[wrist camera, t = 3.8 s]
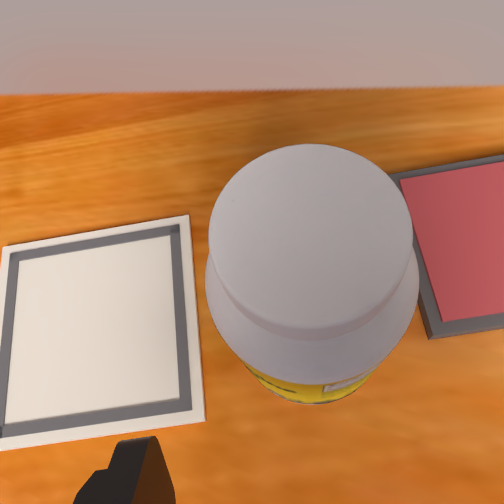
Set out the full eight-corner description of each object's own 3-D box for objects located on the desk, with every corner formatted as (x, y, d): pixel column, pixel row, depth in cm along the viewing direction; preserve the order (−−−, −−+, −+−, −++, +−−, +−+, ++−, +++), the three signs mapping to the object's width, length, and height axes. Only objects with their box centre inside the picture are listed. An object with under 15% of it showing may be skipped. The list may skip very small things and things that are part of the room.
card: (189, 217, 23) (188, 213, 23) (206, 421, 19) (204, 420, 19) (6, 249, 24) (1, 246, 24) (-15, 453, 20) (-22, 453, 20)
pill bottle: (217, 314, 21) (131, 195, 11) (327, 247, 22) (339, 76, 12) (289, 437, 19) (261, 425, 9) (410, 356, 19) (515, 259, 9)
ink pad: (546, 155, 22) (556, 142, 21) (620, 310, 19) (635, 303, 18) (383, 183, 23) (386, 172, 22) (428, 339, 20) (434, 334, 19)
